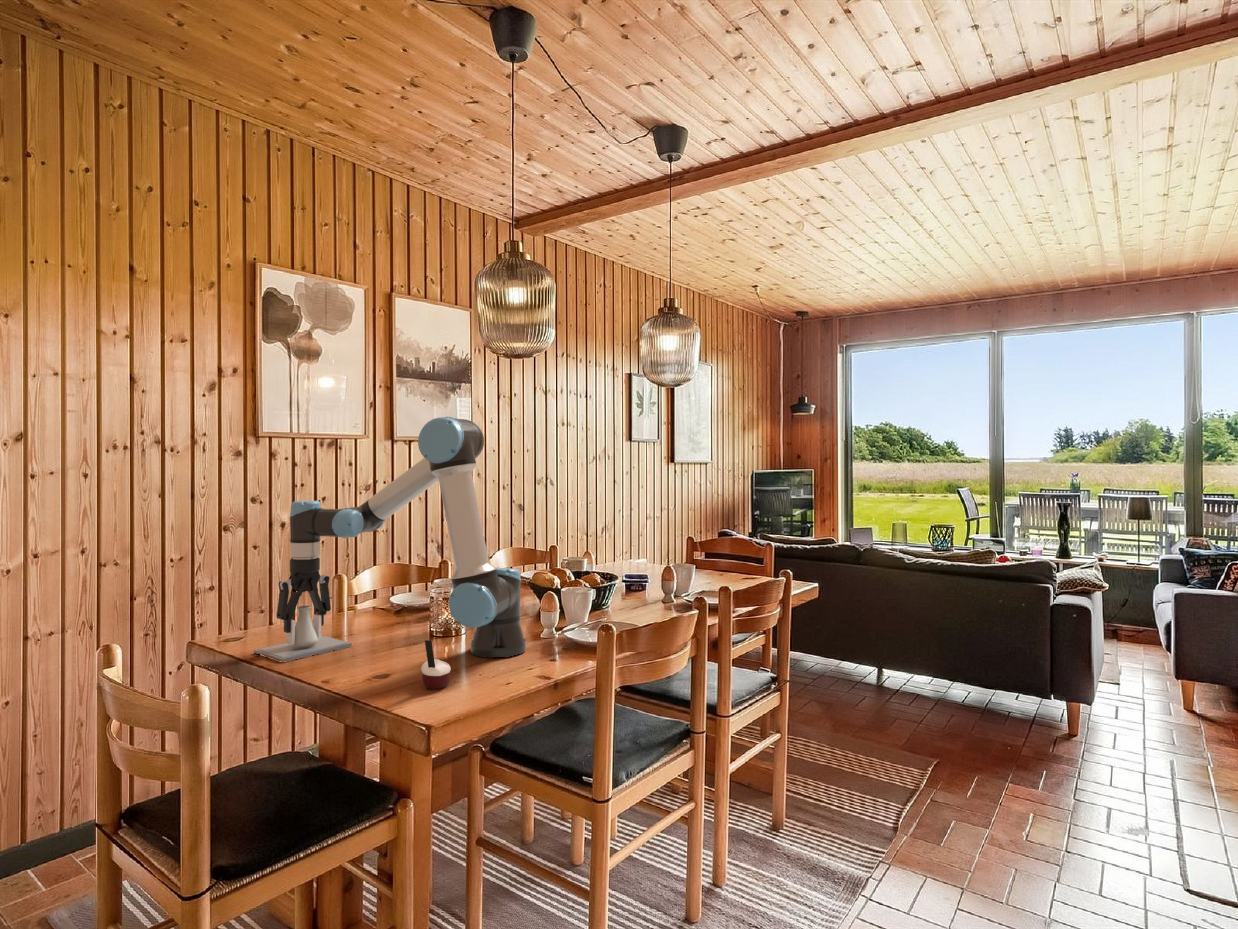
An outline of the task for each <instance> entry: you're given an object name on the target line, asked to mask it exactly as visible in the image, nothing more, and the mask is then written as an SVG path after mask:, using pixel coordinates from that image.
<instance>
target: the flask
mask: <svg viewBox="0 0 1238 929" xmlns="http://www.w3.org/2000/svg"><path fill="white" fill-rule="evenodd" d="M296 609H297V610H298V615H297V621H296V622H295V645H296V646H305V645H310V644H314V643H316V642H318V641H319V639H318V637H317V634H316V632H315V630H314V627H313V621H312V618H311V609H312V606H311V605H300V606H296Z"/></svg>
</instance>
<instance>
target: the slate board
mask: <svg viewBox="0 0 1238 929" xmlns="http://www.w3.org/2000/svg"><path fill="white" fill-rule="evenodd" d="M347 647H348V648H350V647H351V648H352V642H349V641H346V640H342V639H339V638H336V637H335V638H334V637H331V636H327V635H323V634H321V639H319V641H318V642H316V643H314V644H310V645H305V646H296V645H289V644H286V642H285V643H280V644H279V643H278V644H275V645H271V646H267V647H262V648H257V649H253V654H254V653H256V654H262V655H264V656H266V657H270V658H273V659H275V660H277V661H282V662H284V661H290V662H292V661H291V660H294V661H296V660H295V659H298V660H300V659H299V658H302V657H307V658H310V657H309V656H311V657H313V656H312V655H315V656H317V655H316V654H319V655H322V654H327V653H330V652H329V651H331V652H334V651H333V650H335V651H339V650H343V648H344V649H348V648H347ZM326 652H327V653H326ZM256 654H255V655H256ZM302 659H303V658H302ZM277 661H276V662H277Z"/></svg>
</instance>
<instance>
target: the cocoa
mask: <svg viewBox="0 0 1238 929" xmlns="http://www.w3.org/2000/svg"><path fill="white" fill-rule="evenodd" d="M424 645H425V647H424V648H425V652H426V659H427V660H426V661H424V662H423V664H421V669H420V671H421V674H422V681H423V685H424V686H425V687H426V688H427V689H428V688H429V690H431V689H439V690H441V688H442V689H444V688H445V687H447V685H448V683H449V682H450V677H451V669H452V668H451V666H450V664H449V663H448V662H446V661H444V660H442V659H438V658H435V655H434V647H433V641H432V640H427V639H426V640H425V639H424Z"/></svg>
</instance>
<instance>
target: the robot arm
mask: <svg viewBox="0 0 1238 929" xmlns="http://www.w3.org/2000/svg"><path fill="white" fill-rule="evenodd" d="M417 445H418V450H419V452H420V454H421V455H422V457H423V458H421V459H420V460H419V461H418V462H416V463H415V464H414V465H413V466H411V467H409V468H408V469H407V470H406V471H404V472H403V473H402V474H400V475H399V476H398V477H396V478H395V479H394V480H392V481H391V482H390V483H388V484H387V485H386V486H385V487H383V488H382V489H380V490H379V491H378V492H377V493H375V494H374V495H372V496H371V497H370V498H369V499H367V500H365V501H364V502H363V503H362V504H360V505H359V506H353V507H344V508H322V507H321V502H320V501H319V500H294V501H293V502H291V504H290V511H289V512H290V514H289V527H290V530H289V533H290V535H289V536H290V539H289V557H291V558H290V559H289V574H290V575H289V577H288V579H287V580H284V581H279V582H278V589H279V594H278V601H277V602H278V603H277V608H276V609H277V610H276V617H275V618H276V619H278V620H282V621H283V632H284V633H286V637H285V638H286V640H285V641H286V642H285V643H286V644H289V645H295V626H296V620H294V619H293V617H294V615H295V611H296V609H297V607H298V606H297V605H298V603H299V600H300V597H301V596H302V595H303V593H306V592H307V593H308V594H309V597H310V600H311V602H312V605H313V608H314V611H315V613H313V615H312V617H313V618H312V624H313V627H314V630H315V632H316V634H317V637H318V639H321V635H322V627H323V626H324V624H325V620H324V619H325V616H326V615H327V612H330V611H331V599H330V598H331V597H330V589H329V582H330V576H328V575H321V574H320V572H319V571H320V567H321V563H320V562H321V559H320V557H319V556H320V555H321V537H332V538H341V539H346V538H355V537H358V536H359V535H360V534H363V533H371V532H374V531H376V530H379V529H381V528H382V527H383V526H384V523H385V522H386V520H387V519H388V518H391V516H393V515H394V514H396V513H397V512H398V511H399V510H401V509H402V508H403V507H406V506H407V504H410V502H412V501H413V500H414V499H415V498H416V499H417V497H418V496H420V495H421V494H422V493H424V492H425V491H426V490H427V491H428V489H429V488H431V487H433V486H434V485H435V484H437V483H438V482H439V487H440V488H439V489H440V494H441V499H442V504H443V509H444V515H445V519H446V520H445V521H446V524H447V525H446V526H447V531H448V535H449V541H450V546H451V552H452V558H453V563H454V567H455V571H454V573H453V574H452V575H451V576H450V578H451V584H452V585H451V586H452V591H451V593H450V595H449V598H448V609H449V611H450V614H451V616H452V617H453V619H454V621H456V622H457V623H459V624H460V625H462V626H463V627H465V628H473V629H475V630H474V632H473V637H472V640H471V642H470V647H469V648H470V653H471V655H474V656H476V657H480V658H486V657H505V658H511V657H510V656H512V657H515V656H514V655H516V656H518V655H517V654H520V655H522V654H524V653H525V652H526V651H525V650H526V649H527V647H526V646H527V642H526V639H525V638H524V634H523V629H522V626H521V583H522V579H521V571H520V570H519V569H517V568H511V567H510V568H509V567H496V566H494V565H493V564H492V563H490V561H489V555H488V552H487V550H488V549H487V545H486V540H485V535H484V534H485V533H484V529H483V524H482V518H481V514H480V509H479V508H480V507H479V504H478V503H479V502H478V498H477V492H476V489H475V488H476V487H475V483H474V477H473V470H474V469H475V468H476V466H477V461H476V459H477V458H478V457H479V456H480V455H481V453H482V451H483V449H484V446H485V437H484V432H482V429H481V427H480V426H479V425H477V424H476V423H475V422H474V421H471V420H469V419H465V418H463V419H462V418H456V417H455V418H454V417H451V416H440V417H434V418H433V419H430V420H429V421H427V422H426V423H425V424H424V426H422V428H421V430H420V431H419V434H418V438H417ZM318 583H319V588H318V586H317V584H318ZM291 587H292V588H291ZM290 588H291V590H290ZM319 593H320V594H319ZM289 594H290V595H289ZM524 651H525V652H524ZM523 652H524V653H523ZM521 653H522V654H521Z"/></svg>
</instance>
